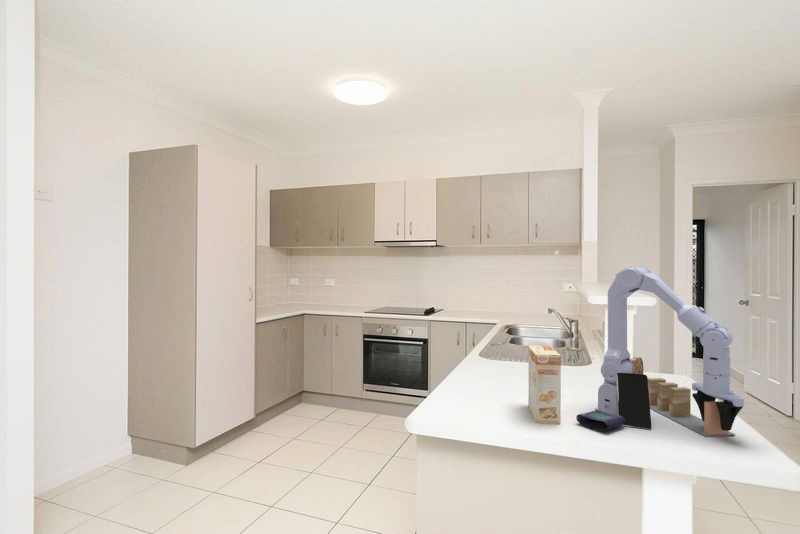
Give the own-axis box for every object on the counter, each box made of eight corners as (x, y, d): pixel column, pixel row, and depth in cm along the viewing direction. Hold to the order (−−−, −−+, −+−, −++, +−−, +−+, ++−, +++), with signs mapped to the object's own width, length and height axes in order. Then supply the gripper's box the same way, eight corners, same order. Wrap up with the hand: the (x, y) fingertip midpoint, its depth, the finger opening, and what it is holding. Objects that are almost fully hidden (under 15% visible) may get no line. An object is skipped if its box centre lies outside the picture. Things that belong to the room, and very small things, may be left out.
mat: (735, 436, 112) (735, 434, 112) (704, 437, 112) (704, 435, 112) (650, 396, 146) (650, 395, 146) (626, 397, 145) (626, 396, 145)
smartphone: (618, 424, 119) (616, 372, 126) (618, 426, 120) (615, 373, 127) (652, 429, 116) (647, 374, 123) (651, 430, 116) (647, 376, 124)
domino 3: (690, 416, 125) (690, 389, 125) (674, 417, 125) (674, 389, 125) (685, 414, 127) (685, 387, 127) (669, 414, 127) (669, 387, 127)
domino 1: (665, 405, 136) (665, 379, 136) (650, 405, 135) (650, 380, 135) (661, 403, 138) (661, 378, 138) (646, 403, 137) (646, 378, 137)
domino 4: (728, 434, 112) (728, 403, 112) (710, 434, 112) (710, 404, 112) (722, 431, 114) (722, 401, 114) (704, 431, 114) (704, 401, 114)
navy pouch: (575, 413, 120) (598, 408, 126) (575, 423, 120) (598, 418, 126) (607, 421, 112) (629, 416, 118) (607, 433, 112) (629, 426, 118)
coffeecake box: (561, 425, 120) (561, 355, 120) (534, 424, 121) (534, 354, 121) (551, 408, 134) (551, 345, 134) (527, 406, 136) (527, 344, 135)
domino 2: (677, 410, 131) (677, 384, 131) (661, 411, 130) (661, 384, 130) (672, 408, 133) (673, 382, 133) (657, 408, 132) (657, 382, 132)
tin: (634, 385, 160) (634, 362, 160) (625, 383, 162) (625, 361, 162) (644, 377, 171) (644, 356, 171) (635, 376, 173) (635, 355, 173)
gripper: (755, 380, 106) (755, 435, 106) (708, 366, 121) (708, 415, 121) (728, 381, 106) (728, 436, 106) (685, 367, 120) (684, 416, 120)
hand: (716, 425), depth 113 cm, fingers open, 6 cm apart
